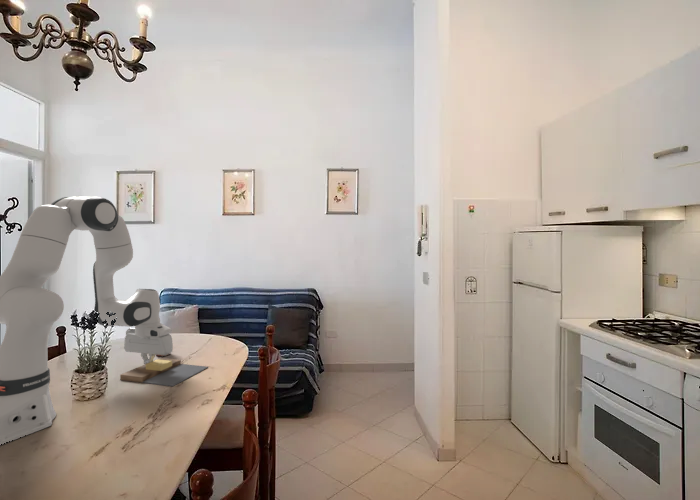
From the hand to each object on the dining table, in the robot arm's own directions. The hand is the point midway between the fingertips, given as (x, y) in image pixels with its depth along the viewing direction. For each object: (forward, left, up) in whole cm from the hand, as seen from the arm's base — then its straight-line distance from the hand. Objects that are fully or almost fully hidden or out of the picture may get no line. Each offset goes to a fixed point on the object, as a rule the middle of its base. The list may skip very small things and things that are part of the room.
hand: (148, 364), depth 148 cm
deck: (0, -2, -3) cm, 3 cm away
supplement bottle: (+19, +10, -3) cm, 22 cm away
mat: (0, -13, -3) cm, 14 cm away
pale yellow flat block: (0, -5, -1) cm, 5 cm away
